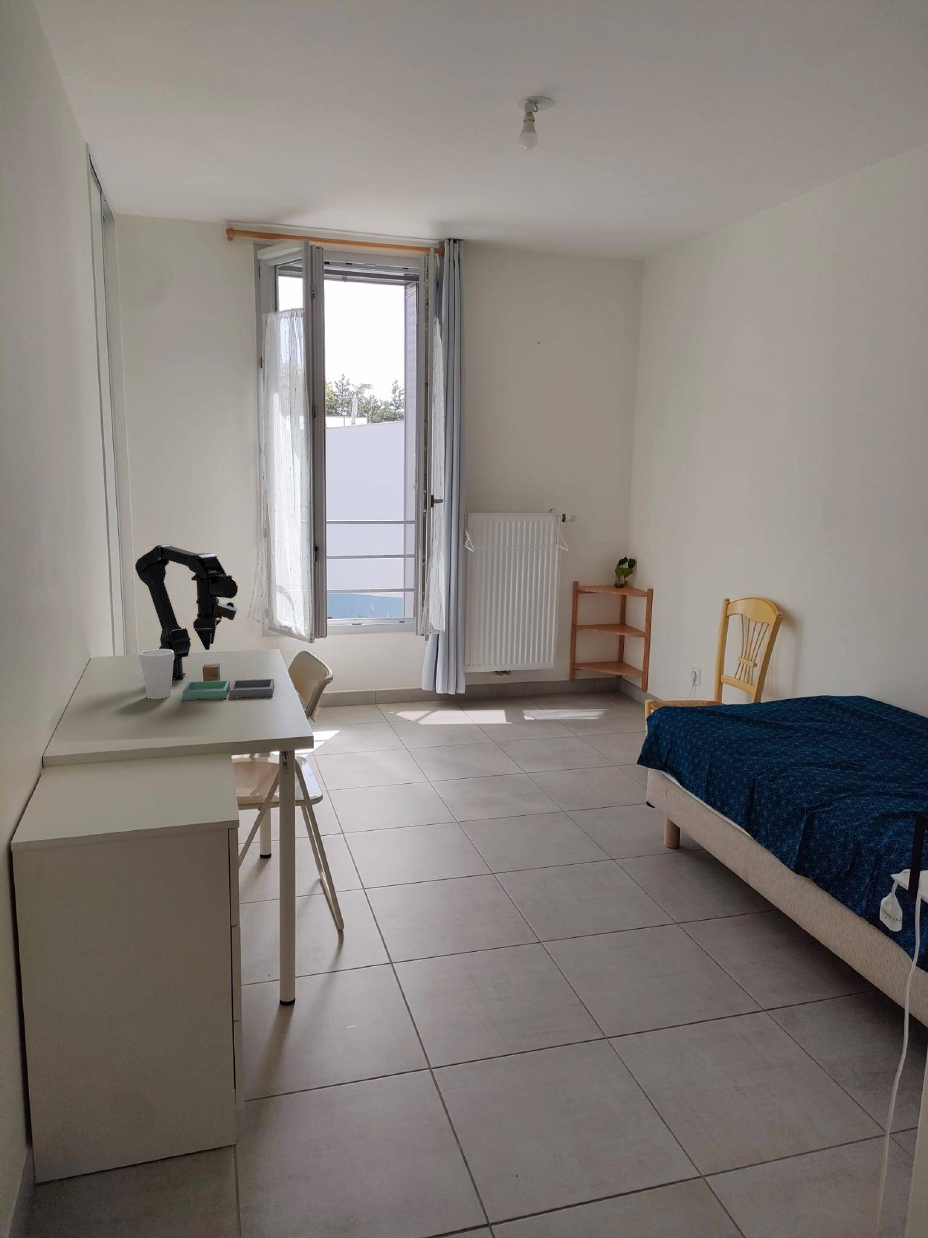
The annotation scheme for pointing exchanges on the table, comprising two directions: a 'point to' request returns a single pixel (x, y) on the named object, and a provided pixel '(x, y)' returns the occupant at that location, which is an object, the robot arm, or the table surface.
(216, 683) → the tray
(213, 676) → the walnut block
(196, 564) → the robot arm
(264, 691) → the tray
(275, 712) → the table surface
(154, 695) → the foam cup
